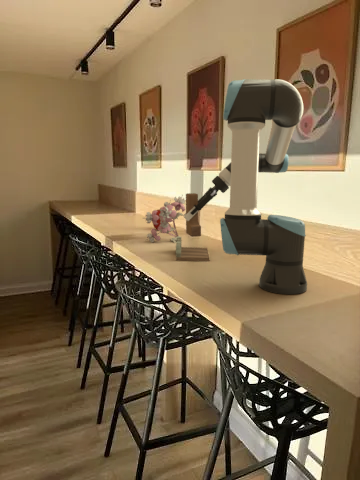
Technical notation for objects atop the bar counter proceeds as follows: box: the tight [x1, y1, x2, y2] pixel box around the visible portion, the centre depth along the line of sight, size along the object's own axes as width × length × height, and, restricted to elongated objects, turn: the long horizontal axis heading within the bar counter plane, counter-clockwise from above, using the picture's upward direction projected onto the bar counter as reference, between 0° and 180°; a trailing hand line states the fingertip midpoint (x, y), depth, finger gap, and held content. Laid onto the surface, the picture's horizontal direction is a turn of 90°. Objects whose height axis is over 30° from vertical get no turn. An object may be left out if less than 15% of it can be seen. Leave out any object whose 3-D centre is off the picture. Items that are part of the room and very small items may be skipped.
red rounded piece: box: [151, 208, 163, 231], centre depth 233 cm, size 10×10×14 cm
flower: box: [142, 194, 186, 244], centre depth 198 cm, size 20×22×25 cm
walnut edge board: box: [175, 236, 210, 262], centre depth 168 cm, size 20×14×6 cm
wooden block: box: [185, 192, 202, 238], centre depth 167 cm, size 9×4×18 cm, turn 14°
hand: (185, 217), depth 169 cm, fingers closed on wooden block, 6 cm apart
